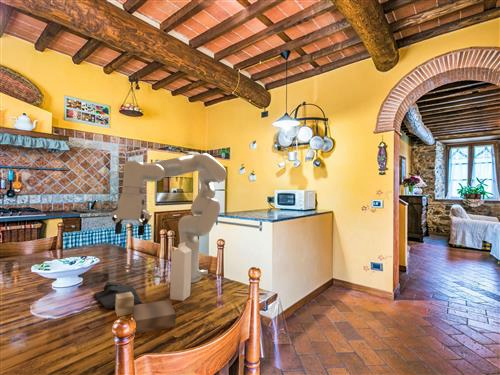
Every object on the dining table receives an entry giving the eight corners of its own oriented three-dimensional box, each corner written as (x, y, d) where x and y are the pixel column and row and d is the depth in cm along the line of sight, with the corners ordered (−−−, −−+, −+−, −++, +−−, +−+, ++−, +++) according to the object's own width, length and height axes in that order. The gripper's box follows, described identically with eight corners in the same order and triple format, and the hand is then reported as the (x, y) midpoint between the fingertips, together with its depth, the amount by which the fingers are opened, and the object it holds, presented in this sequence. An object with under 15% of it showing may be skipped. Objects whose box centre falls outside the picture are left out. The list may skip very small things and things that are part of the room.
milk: (169, 299, 104) (171, 244, 104) (177, 293, 109) (178, 241, 110) (183, 301, 102) (184, 245, 103) (190, 295, 108) (191, 242, 109)
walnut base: (169, 310, 93) (169, 299, 93) (175, 326, 82) (175, 313, 83) (133, 317, 88) (133, 305, 88) (134, 334, 77) (134, 320, 77)
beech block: (130, 308, 95) (130, 291, 95) (133, 313, 91) (133, 296, 91) (115, 311, 92) (115, 294, 92) (117, 316, 88) (118, 299, 88)
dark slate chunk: (98, 315, 90) (98, 301, 90) (93, 294, 108) (93, 283, 108) (144, 305, 99) (144, 292, 99) (132, 287, 117) (133, 276, 117)
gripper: (157, 193, 107) (154, 234, 106) (119, 191, 109) (115, 232, 108) (147, 192, 99) (144, 237, 98) (106, 190, 102) (103, 234, 101)
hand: (129, 234), depth 103 cm, fingers open, 9 cm apart
